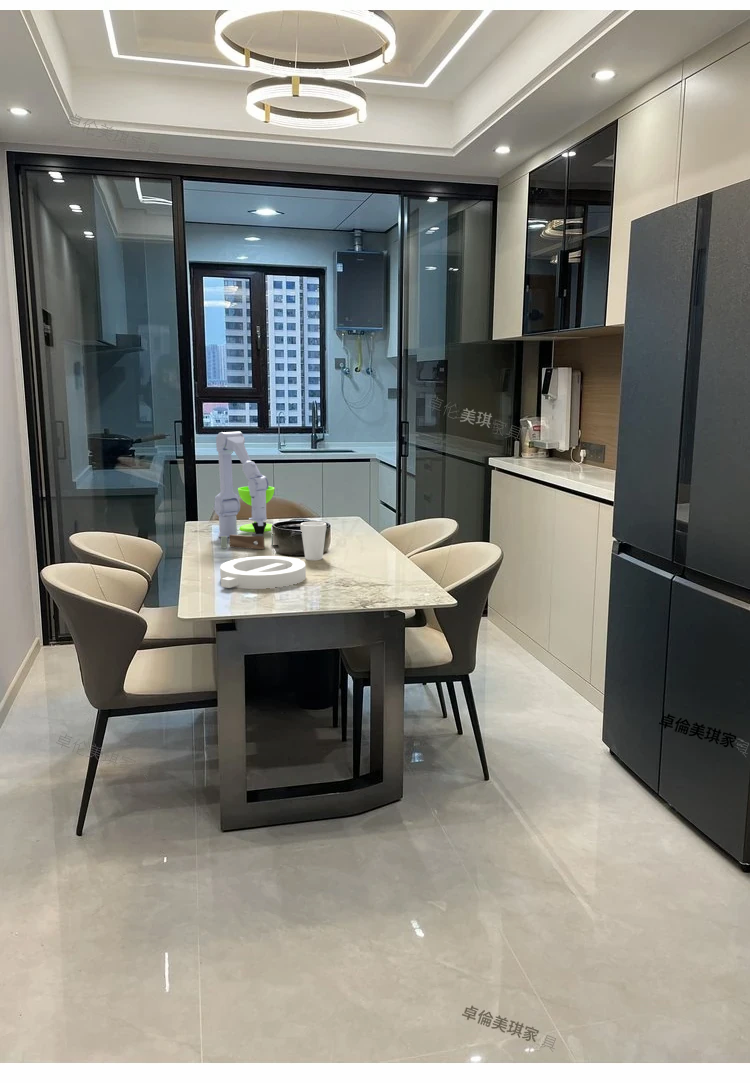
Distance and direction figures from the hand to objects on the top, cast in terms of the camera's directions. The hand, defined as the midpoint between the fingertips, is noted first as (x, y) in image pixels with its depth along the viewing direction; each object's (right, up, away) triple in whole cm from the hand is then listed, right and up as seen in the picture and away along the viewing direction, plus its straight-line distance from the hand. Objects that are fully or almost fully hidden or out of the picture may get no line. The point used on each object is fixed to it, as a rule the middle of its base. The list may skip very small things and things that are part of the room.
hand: (259, 540), depth 318 cm
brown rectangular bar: (-4, -3, -9) cm, 10 cm away
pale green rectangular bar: (-3, -2, -5) cm, 6 cm away
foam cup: (+24, -7, -25) cm, 35 cm away
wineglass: (-6, +5, +33) cm, 34 cm away
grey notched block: (0, -2, -4) cm, 5 cm away
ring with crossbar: (+9, -13, -54) cm, 56 cm away
